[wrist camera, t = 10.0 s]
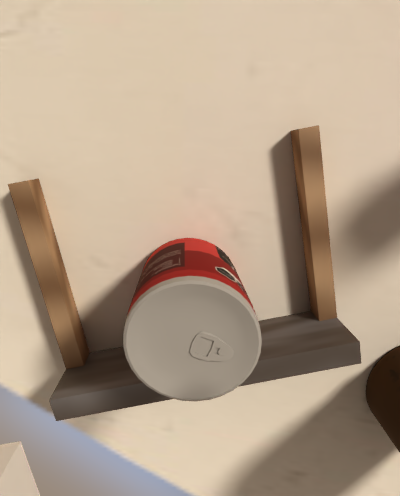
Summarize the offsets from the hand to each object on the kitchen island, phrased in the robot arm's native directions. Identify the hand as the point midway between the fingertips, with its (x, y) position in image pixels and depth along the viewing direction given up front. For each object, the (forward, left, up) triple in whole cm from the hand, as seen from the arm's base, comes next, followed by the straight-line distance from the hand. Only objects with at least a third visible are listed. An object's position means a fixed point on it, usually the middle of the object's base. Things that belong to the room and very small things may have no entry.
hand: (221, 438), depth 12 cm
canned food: (+1, -1, -19) cm, 19 cm away
